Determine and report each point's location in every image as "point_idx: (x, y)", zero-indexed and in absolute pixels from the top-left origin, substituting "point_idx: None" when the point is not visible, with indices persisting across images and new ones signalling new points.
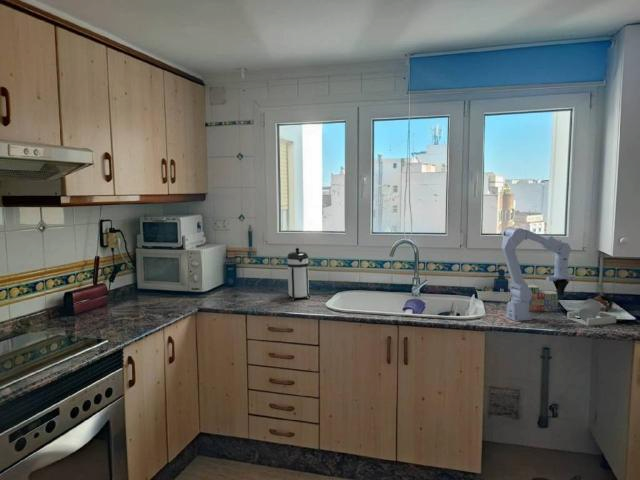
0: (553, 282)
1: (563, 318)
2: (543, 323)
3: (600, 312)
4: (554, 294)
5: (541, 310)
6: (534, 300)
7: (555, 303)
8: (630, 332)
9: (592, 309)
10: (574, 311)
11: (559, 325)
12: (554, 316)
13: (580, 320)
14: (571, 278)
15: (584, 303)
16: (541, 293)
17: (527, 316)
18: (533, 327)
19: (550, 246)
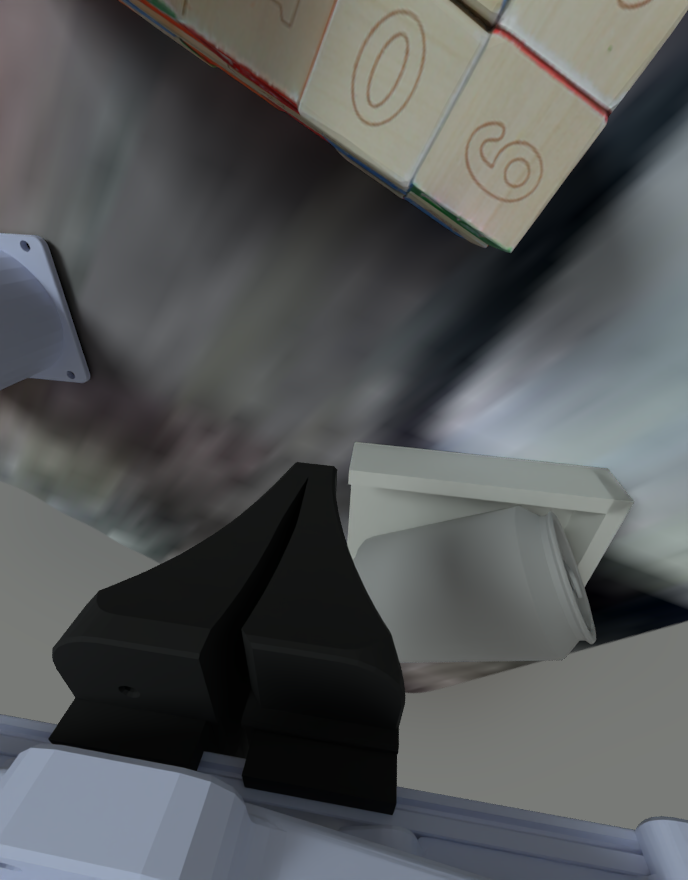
0: (124, 590)
1: (328, 433)
2: (130, 462)
3: (579, 562)
4: (459, 215)
5: (318, 134)
6: (182, 37)
7: (451, 227)
8: (438, 679)
9: None
10: (419, 478)
11: (202, 520)
12: (302, 367)
13: (380, 521)
14: (597, 877)
15: (425, 621)
16: (237, 61)
17: (29, 376)
18: (44, 492)
19: None
